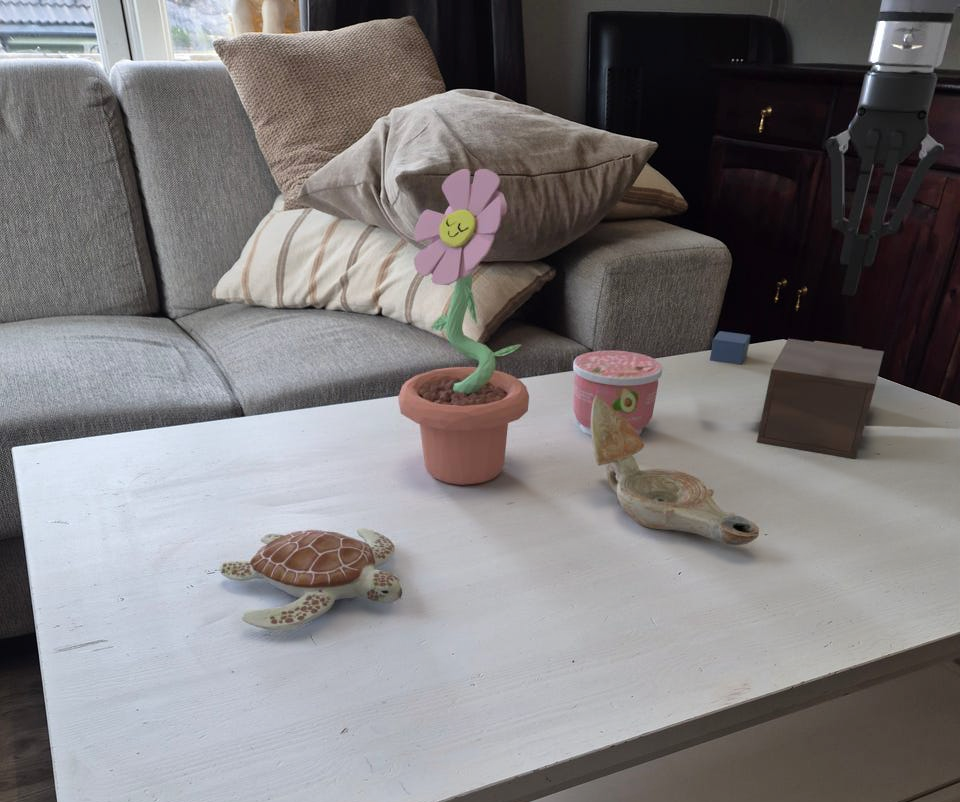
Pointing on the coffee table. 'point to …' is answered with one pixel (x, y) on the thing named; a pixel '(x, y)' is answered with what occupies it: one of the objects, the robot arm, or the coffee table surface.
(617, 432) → the oil lamp
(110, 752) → the coffee table surface
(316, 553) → the decorative turtle
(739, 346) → the block
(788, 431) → the cabinet
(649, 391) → the container
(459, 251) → the decorative flower
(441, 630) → the coffee table surface
